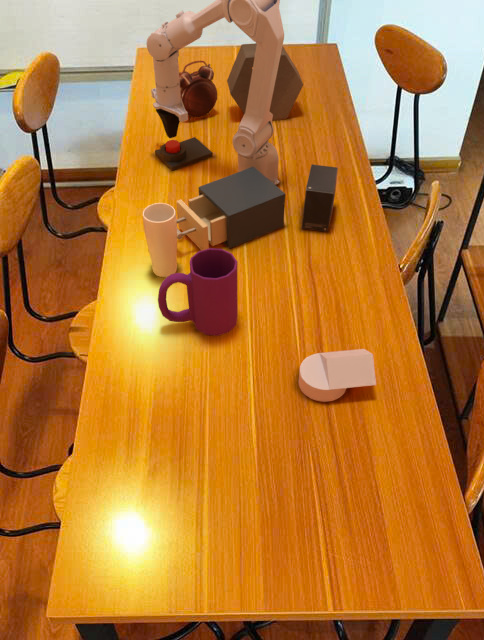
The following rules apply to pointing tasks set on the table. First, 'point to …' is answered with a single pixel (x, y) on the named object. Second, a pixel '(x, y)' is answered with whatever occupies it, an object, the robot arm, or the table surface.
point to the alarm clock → (198, 90)
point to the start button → (172, 146)
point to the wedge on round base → (335, 373)
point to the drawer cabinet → (247, 204)
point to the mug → (206, 292)
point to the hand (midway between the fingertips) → (171, 136)
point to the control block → (184, 154)
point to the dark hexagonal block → (285, 83)
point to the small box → (319, 197)
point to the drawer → (201, 222)
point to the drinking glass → (161, 237)
